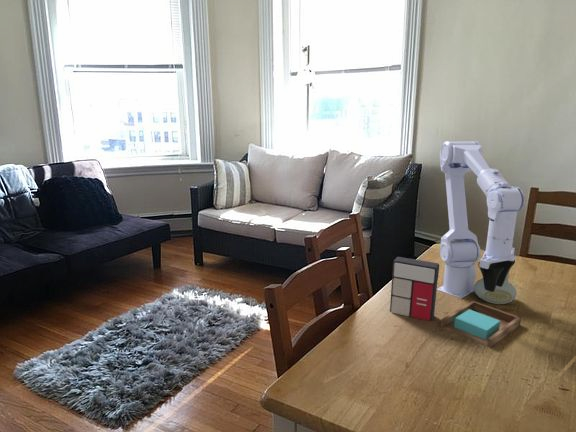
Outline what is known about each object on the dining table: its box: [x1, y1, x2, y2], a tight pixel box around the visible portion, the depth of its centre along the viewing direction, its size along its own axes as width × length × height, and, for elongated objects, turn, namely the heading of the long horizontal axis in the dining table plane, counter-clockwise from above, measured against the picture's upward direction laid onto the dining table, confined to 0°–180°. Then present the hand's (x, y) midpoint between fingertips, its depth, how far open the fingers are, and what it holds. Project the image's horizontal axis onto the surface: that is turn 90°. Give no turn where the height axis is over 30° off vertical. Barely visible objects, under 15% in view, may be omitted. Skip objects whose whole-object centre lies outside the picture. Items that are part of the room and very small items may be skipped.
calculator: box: [389, 256, 440, 322], centre depth 116 cm, size 11×4×15 cm, turn 62°
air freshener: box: [474, 271, 518, 305], centre depth 125 cm, size 11×8×10 cm
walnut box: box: [440, 300, 522, 348], centre depth 111 cm, size 16×13×2 cm
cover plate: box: [454, 309, 500, 340], centre depth 110 cm, size 7×8×2 cm
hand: (493, 287), depth 112 cm, fingers open, 4 cm apart
